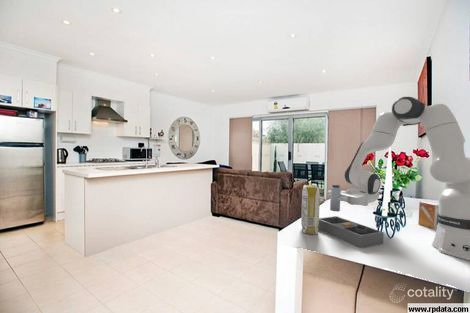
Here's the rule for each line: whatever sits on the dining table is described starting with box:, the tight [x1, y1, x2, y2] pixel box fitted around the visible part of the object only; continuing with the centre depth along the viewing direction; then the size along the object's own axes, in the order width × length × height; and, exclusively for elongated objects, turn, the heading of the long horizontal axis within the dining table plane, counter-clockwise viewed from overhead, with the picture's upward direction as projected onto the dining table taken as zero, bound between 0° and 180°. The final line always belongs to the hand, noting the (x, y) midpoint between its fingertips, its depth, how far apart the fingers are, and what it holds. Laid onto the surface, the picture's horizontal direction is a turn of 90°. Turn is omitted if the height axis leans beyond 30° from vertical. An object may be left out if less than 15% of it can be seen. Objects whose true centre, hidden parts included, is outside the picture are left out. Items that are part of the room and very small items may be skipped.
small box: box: [418, 200, 439, 230], centre depth 126 cm, size 8×6×13 cm
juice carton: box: [300, 183, 321, 235], centre depth 112 cm, size 9×8×24 cm
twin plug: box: [355, 224, 367, 235], centre depth 102 cm, size 5×5×5 cm
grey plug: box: [329, 184, 342, 212], centre depth 116 cm, size 5×5×13 cm
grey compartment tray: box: [318, 215, 384, 249], centre depth 109 cm, size 26×14×6 cm, turn 23°
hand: (334, 197), depth 115 cm, fingers closed on grey plug, 5 cm apart
